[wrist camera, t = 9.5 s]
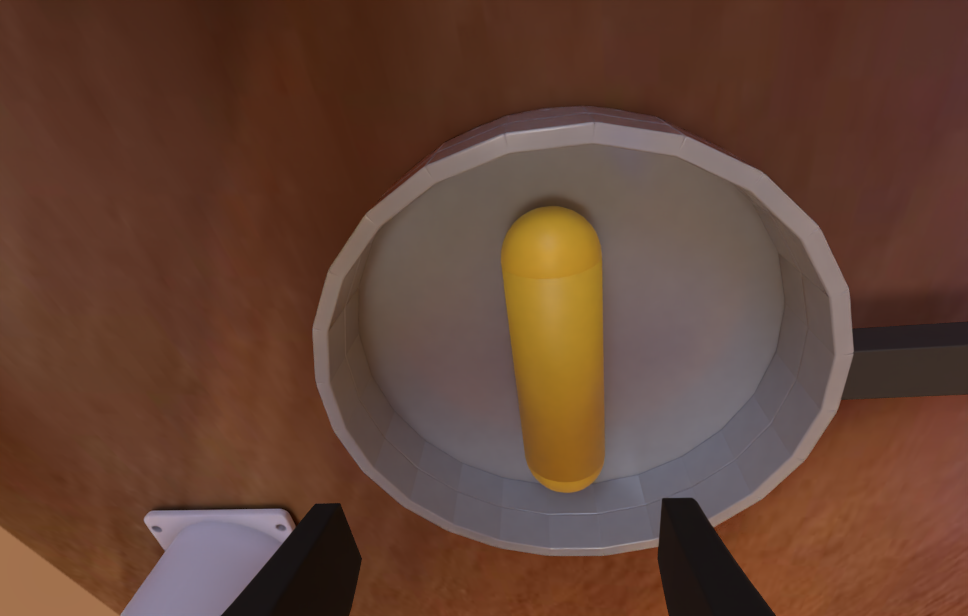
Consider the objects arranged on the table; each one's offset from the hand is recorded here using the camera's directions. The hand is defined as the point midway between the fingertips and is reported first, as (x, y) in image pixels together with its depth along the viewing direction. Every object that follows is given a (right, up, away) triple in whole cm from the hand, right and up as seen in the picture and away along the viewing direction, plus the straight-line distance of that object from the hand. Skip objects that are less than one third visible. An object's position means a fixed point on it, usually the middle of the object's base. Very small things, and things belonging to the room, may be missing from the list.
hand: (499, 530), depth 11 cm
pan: (+2, +4, +7) cm, 9 cm away
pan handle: (+14, +4, +4) cm, 15 cm away
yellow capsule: (+2, +4, +7) cm, 8 cm away
